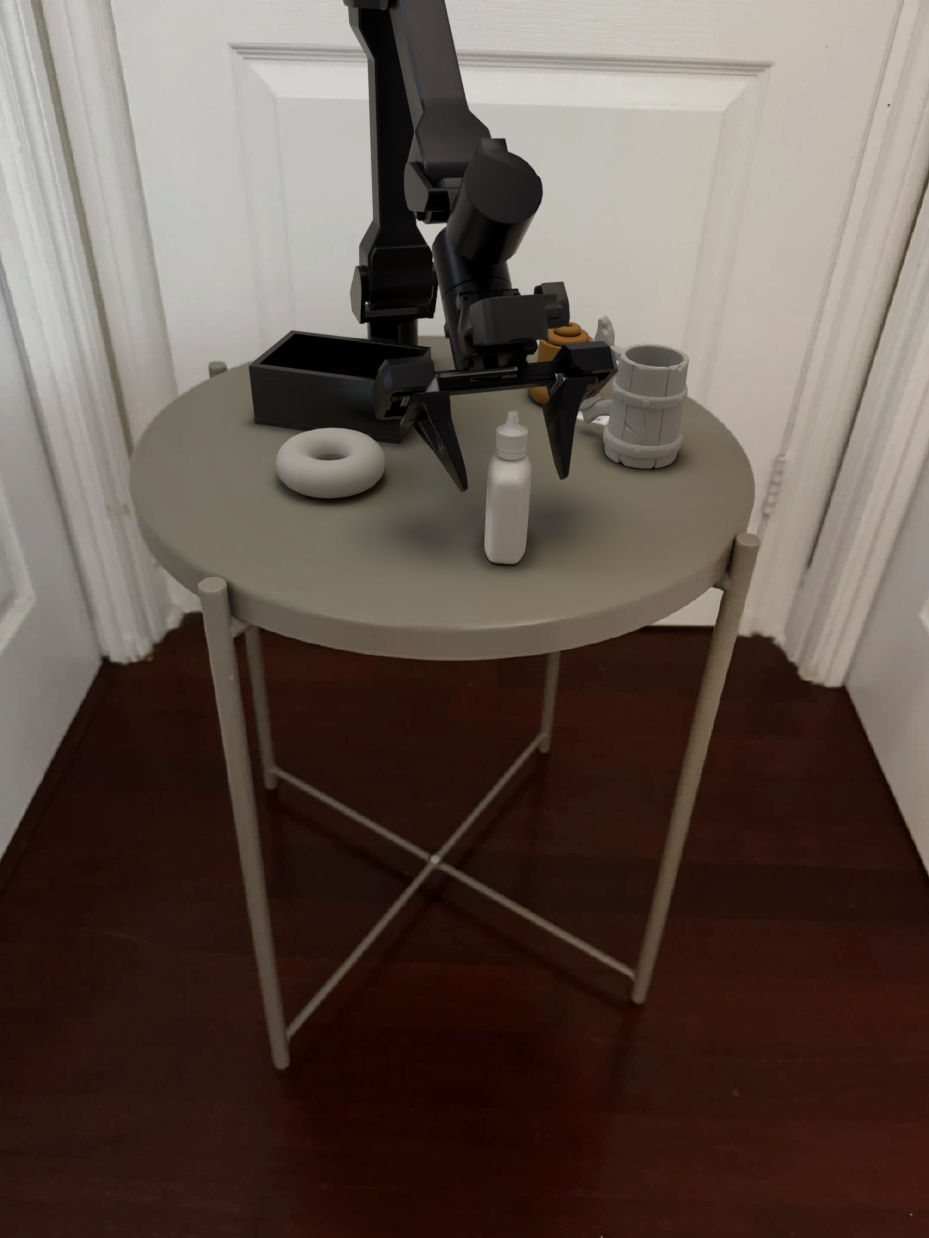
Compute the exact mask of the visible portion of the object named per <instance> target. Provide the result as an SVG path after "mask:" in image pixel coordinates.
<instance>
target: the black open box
mask: <svg viewBox="0 0 929 1238" xmlns="http://www.w3.org/2000/svg"><path fill="white" fill-rule="evenodd" d="M420 356H429V357H430V358H431V359H432V347H431V346H424V345H418V346H417V345H409V344H401V343H393V342H384V341H376V340H368V338H358V337H352V336H343V335H342V336H341V335H336V334H335V335H334V334H327V333H319V332H311V331H303V330H302V331H301V330H294V329H291V330H289V332H287V333H286V334H284V335H283V337H281V338H280V339H279V340H277V341H276V342H275V343H274V344H272V346H270V347H269V348H268V349H267V350H265V351H264V352H263V353H262V354H260V355H259V356H258V357H257V358H256V359H254V361H252V362H251V363H250V364H248V375H249V382H250V390H251V401H252V407H253V415H254V416H253V417H254V423H255V424H260V425H267V426H273V427H274V426H275V427H279V428H287V429H295V430H302V431H311V430H315V429H322V428H344V429H349V430H354V431H358V432H361V433H363V434H366V435H368V436H369V437H371V438H372V439H373V440H375V441H376V442H377V441H379V442H386V443H393V444H398V445H401V444H402V442H403V441H404V440H405V438H406V437H407V435H408V434H409V433H410V431H412V429H413V428H411V427H408V428H404V427H401V424H400V419H401V418H399V419H390V420H380V419H377V418H376V414H375V408H374V403H373V391H372V389H373V386H374V383H375V380H376V377H377V374H378V370H379V368H380V367H381V365H382V364H383V362H384V361H385V360H386V359H397V358H409V357H420Z"/></svg>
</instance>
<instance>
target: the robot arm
mask: <svg viewBox="0 0 929 1238" xmlns="http://www.w3.org/2000/svg"><path fill="white" fill-rule="evenodd" d="M342 3H343V5H344V6H345V7H347V11H348V14H347V15H348V24H349V27H350V29H351V31H352V33H353V34H354V36H355V37H356V40H357V42H358V43H359V45H360V47H361V49H362V51H363V52H364V54H365V56H366V59H367V85H368V88H367V89H368V112H369V113H368V114H369V143H370V147H369V148H370V172H371V173H370V174H371V175H370V176H371V199H372V200H371V203H372V220H371V222H370V224H369V226H368V227H367V230H366V231H365V233H364V235H363V237H362V238H361V241H360V242H359V244H358V265H355V266H354V270H353V276H352V280H351V284H350V289H349V298H350V306H351V307H350V308H351V313H352V314H353V316H354V318H355V319H356V320H357V322H358V324H359V325H365V324H366V332H367V333H366V335H367V339H368V340H376V341H384V342H393V343H401V344H409V345H417V346H419V320H422V319H423V320H424V319H429V320H432V319H435V313H436V310H437V299H438V291H439V294H440V299H441V305H442V310H443V314H444V316H443V317H444V320H445V322H444V325H443V327H442V328H443V332H444V337H445V339H448V340H449V345H450V351H451V355H452V361H453V366H454V369H448V370H447V369H445V370H436V369H435V363H434V361H433V360H432V357H431V358H430V357H429V356H420V357H409V358H397V359H386V360H385V361H384V362H383V364H382V365H381V367H380V368H379V370H378V374H377V377H376V380H375V383H374V386H373V389H372V391H373V403H374V408H375V414H376V418H377V419H380V420H390V419H399V418H401V419H400V424H401V427H404V428H408V427H411V428H412V429H413V430H414V431H415V432H416V434H417V435H418V436H419V437H420V439H422V440H423V442H424V443H425V444H426V445H427V446H428V447H429V448H430V450H431V451H432V452H433V453H434V455H435V456H436V458H437V459H438V461H439V462H440V464H441V465H442V467H443V468H444V470H445V471H446V472H447V474H448V475H449V477H450V479H451V480H452V481H453V483H454V485H455V486H456V487H457V489H458V491H459V492H460V493H466V492H467V491H468V489H469V482H468V475H467V469H466V465H465V461H464V458H463V457H464V456H463V453H462V450H461V446H460V443H459V439H458V436H457V433H456V428H455V424H454V421H453V417H452V406H451V405H452V404H451V397H454V396H464V395H473V394H483V393H492V392H504V391H515V390H524V389H528V388H535V387H545V386H546V387H547V392H548V396H549V400H548V401H547V403H546V404H545V405H542V408H541V409H542V413H543V419H544V424H545V428H546V432H547V438H548V441H549V446H550V452H551V455H552V460H553V465H554V467H555V470H556V473H557V476H558V478H559V480H560V481H564V480H566V479H567V478H568V477H569V474H570V468H571V462H572V461H571V459H572V454H573V445H574V437H575V430H576V424H577V419H578V416H579V411H580V409H579V408H580V405H581V403H582V402H583V401H584V400H585V399H589V398H591V397H594V396H596V395H597V394H598V393H599V394H600V392H601V391H602V389H604V388H605V386H606V385H608V383H609V382H610V381H611V379H613V377H614V376H616V374H617V372H618V363H617V362H618V361H617V360H616V358H615V353H614V351H613V350H612V349H611V347H610V346H609V345H608V344H606V343H605V342H604V341H593V342H582V343H570V344H564V345H563V346H562V347H561V349H560V350H559V351H558V353H557V354H556V355H555V357H554V358H553V360H552V361H544V362H537V361H535V362H534V361H533V362H529V361H528V356H534V355H535V353H536V352H538V348H539V343H538V341H539V340H548V339H549V331H548V329H556V328H561V327H564V326H567V325H568V324H569V322H571V321H570V320H571V310H570V300H569V296H568V293H567V289H566V286H565V281H551V282H542V283H540V284H538V285H535V286H534V288H533V293H532V294H522V293H521V292H520V291H519V290H520V289H519V288H518V287H517V288H515V287H514V288H513V284H512V280H511V274H510V270H509V265H508V261H509V259H512V257H514V255H516V254H517V251H518V249H519V247H520V246H521V244H522V242H523V240H524V238H525V235H526V233H527V232H528V230H529V228H530V226H531V224H532V222H533V220H534V218H535V216H536V214H537V212H538V210H539V208H540V206H541V205H542V202H543V196H544V188H543V182H542V178H541V177H540V176H539V175H538V174H537V172H536V170H535V169H534V167H532V165H530V163H529V162H528V161H526V160H525V159H524V158H522V157H521V156H520V155H517V154H516V153H513V152H512V151H509V148H508V144H507V139H506V138H505V137H492V133H491V131H490V129H489V127H488V126H487V125H486V124H485V123H483V121H481V120H480V119H479V118H478V117H477V116H476V115H475V114H474V113H473V112H472V111H471V110H470V107H469V103H468V100H467V97H466V92H465V87H464V83H463V78H462V75H461V74H462V73H461V68H460V64H459V60H458V56H457V55H458V54H457V49H456V45H455V41H454V36H453V32H452V28H451V27H452V26H451V24H450V23H451V22H450V19H449V13H448V9H447V4H446V0H342ZM417 221H418V222H422V223H423V224H425V225H443V224H446V226H445V227H443V228H442V229H441V230H440V231H439V232H438V233H437V234H436V236H435V237H434V240H433V242H432V244H431V247H430V245H429V244H428V242H427V241H426V239H425V237H424V235H423V234H422V232H421V230H420V228H419V227H418V225H417V224H418V223H417Z"/></svg>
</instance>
